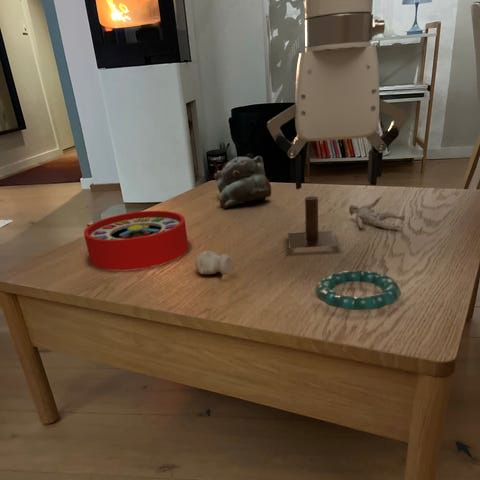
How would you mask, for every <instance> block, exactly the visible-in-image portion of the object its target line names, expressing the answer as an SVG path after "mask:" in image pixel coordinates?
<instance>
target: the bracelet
mask: <svg viewBox="0 0 480 480" xmlns="http://www.w3.org/2000/svg"><path fill="white" fill-rule="evenodd" d="M352 282H353V283H355V282H360V283H367V284H372V285H374V286H376V287H378V288H380V289H381V292H380V293H377V294H374V295H371V296H351V295H350V296H349V295H344V294H339V293H338V292H336V291H334V290H333V289H335V288H336V287H337V286H339V285H342V284H346V283H352ZM315 293H316V298H317V299H318V300H320V301H322V302H324V303H325V304H327V305H328V306H330V307H334V308H335V307H336V308H340V309H345V310H350V311H361V310H363V311H364V310H365V311H366V310H377V309H380V308H383V307H387V306H389V305H392V304H395V303H396V302H397V300H398V299H399V298H400V296H401V295H402V290H401V289H400V287H399V285H398V283H397V281H396V280H395V279H394V278H391V277H390V276H387V275H385V274H383V273H381V272H376V271H370V270H369V271H368V270H363V269H362V270H361V269H360V270H359V269H358V270H342V271H339V272H335V273H331V274H328V275H326V276H324V278H323V279H321V280H320V281H319V282H318V283H317V284H316V286H315Z"/></svg>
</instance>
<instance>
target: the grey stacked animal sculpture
mask: <svg viewBox="0 0 480 480" xmlns="http://www.w3.org/2000/svg"><path fill="white" fill-rule="evenodd" d="M214 178H215V181H216V185H217V186H216V187H217V189H218V191H219V196H218V201H219V204H220V207H222V208H223V209H227V208H229V207H231V206H234V205H237V204H241V203H247V202H251V201H264V200H266V199H267V198H269V197H271V196H272V185H271V182H270V180H269V178H267V177H266V173H265V164H264V159H263V157H262V156H260V155H258V156H254V154H253V153H252V152H251V153H250V152H249V153H247V154H246V155H244V156H238V157H234V158H233V159H230V160H229V161H227V162H225V163H224V164H223V166H222V169H220V170H217V172H216V173H214Z"/></svg>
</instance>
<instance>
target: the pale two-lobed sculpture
mask: <svg viewBox="0 0 480 480" xmlns="http://www.w3.org/2000/svg"><path fill="white" fill-rule="evenodd" d="M194 265H195V266H194V267H195V269H196V271H197V272H198V273H199V274H201V275H215V274H217V273H220V274H221V275H222V276H223V275H229V274H230V273H232V272H234V271H235V263H234V261H233V259H232V258H231V256H229V254H227V253H223V254H222V255H219V254H217V253H216V252H214V251H212V250H205V251H203V252H200V253H199V254H198V256H197V257H196V259H195V263H194Z"/></svg>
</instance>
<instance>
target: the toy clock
mask: <svg viewBox="0 0 480 480" xmlns="http://www.w3.org/2000/svg"><path fill="white" fill-rule="evenodd" d="M83 236H84V239H85V244H86V249H87V253H88V257H89V261H90V263H91V265H92V266H93V267H96V268H97V269H101V270H105V271H113V272H114V271H115V272H116V271H117V272H122V271H123V272H125V271H138V270H144V269H149V268H154V267H158V266H162V265H165V264H167V263H171V262H173V261H175V260H177V259H179V258H181V257H183V256H184V255H185V254H186V253H187V252H188V250H189V240H188V233H187V226H186V218H185V216H184V215H182V214H180V213H178V212H175V211H170V210H169V211H168V210H144V211H136V212H135V211H134V212H126V213H122V214H117V215H114V216H113V215H112V216H109V217H106V218H102V219H100V220H98V221H94V222H93V223H91V224H89V225H88V226H86V227H85V229H84V231H83Z"/></svg>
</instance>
